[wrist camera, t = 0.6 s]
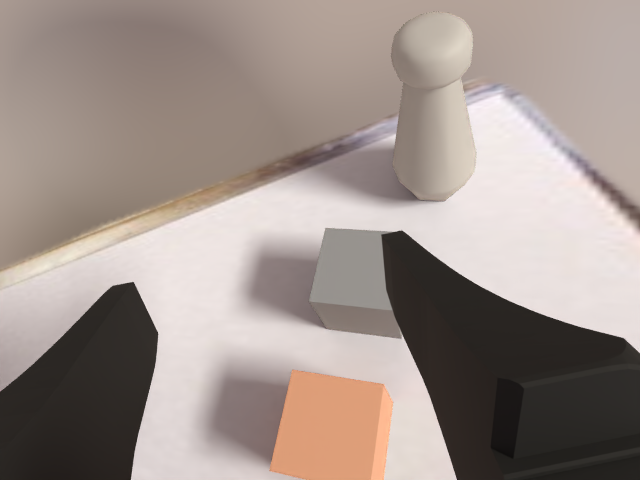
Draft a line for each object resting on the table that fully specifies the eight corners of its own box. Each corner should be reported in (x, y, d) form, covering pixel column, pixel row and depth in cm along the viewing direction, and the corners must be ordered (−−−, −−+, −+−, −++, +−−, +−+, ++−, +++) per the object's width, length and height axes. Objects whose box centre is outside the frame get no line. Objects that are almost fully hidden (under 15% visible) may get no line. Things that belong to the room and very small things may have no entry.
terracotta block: (381, 496, 25) (369, 494, 21) (296, 476, 27) (269, 470, 23) (393, 402, 27) (383, 384, 23) (314, 389, 29) (292, 369, 25)
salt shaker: (384, 200, 35) (357, 60, 24) (411, 144, 37) (397, -9, 26) (460, 220, 32) (469, 74, 22) (484, 159, 35) (503, -2, 24)
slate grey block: (401, 339, 29) (394, 310, 25) (327, 329, 31) (308, 301, 27) (410, 269, 32) (405, 232, 27) (340, 263, 33) (325, 228, 29)
